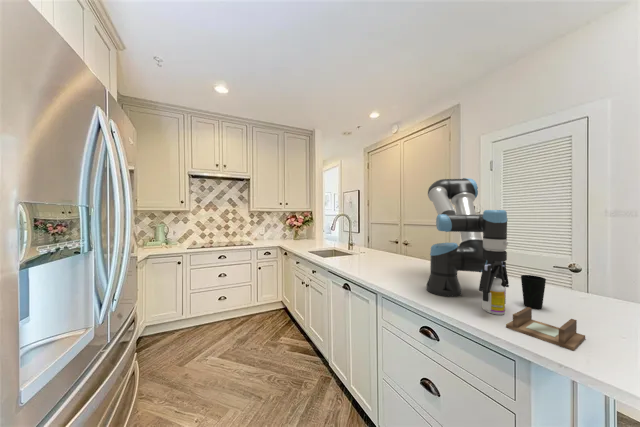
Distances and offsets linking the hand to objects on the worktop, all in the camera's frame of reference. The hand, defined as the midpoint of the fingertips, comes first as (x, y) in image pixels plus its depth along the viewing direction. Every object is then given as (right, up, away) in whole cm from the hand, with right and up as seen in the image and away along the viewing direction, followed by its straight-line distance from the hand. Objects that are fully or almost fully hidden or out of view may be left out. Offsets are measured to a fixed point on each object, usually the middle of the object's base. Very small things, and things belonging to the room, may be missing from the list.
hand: (494, 306), depth 94 cm
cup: (+19, -2, +5) cm, 20 cm away
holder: (+4, -2, -16) cm, 17 cm away
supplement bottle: (0, -2, 0) cm, 2 cm away
